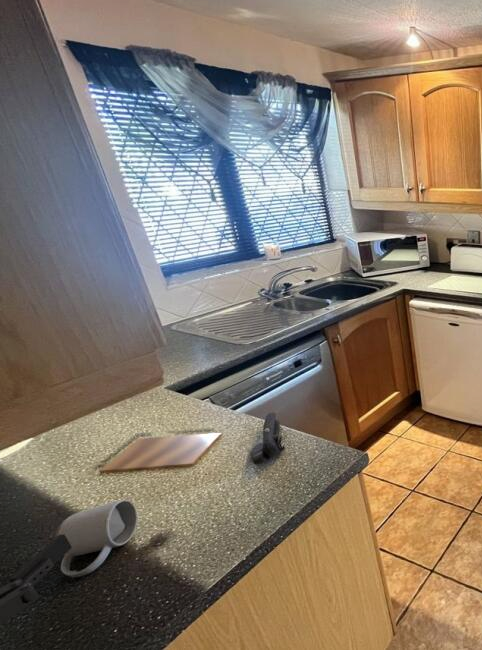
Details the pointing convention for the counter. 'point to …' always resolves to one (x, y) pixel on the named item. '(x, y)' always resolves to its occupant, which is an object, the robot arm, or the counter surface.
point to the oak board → (162, 452)
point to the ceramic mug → (97, 532)
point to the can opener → (269, 441)
